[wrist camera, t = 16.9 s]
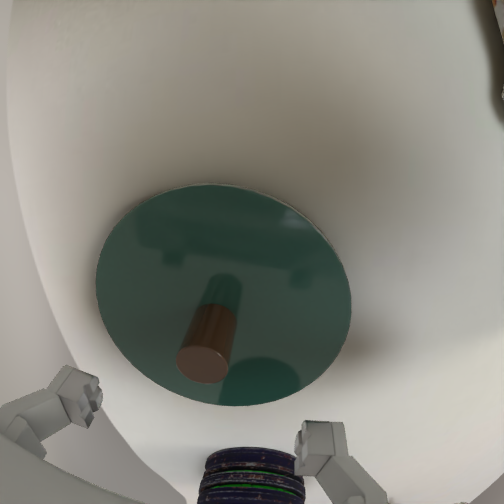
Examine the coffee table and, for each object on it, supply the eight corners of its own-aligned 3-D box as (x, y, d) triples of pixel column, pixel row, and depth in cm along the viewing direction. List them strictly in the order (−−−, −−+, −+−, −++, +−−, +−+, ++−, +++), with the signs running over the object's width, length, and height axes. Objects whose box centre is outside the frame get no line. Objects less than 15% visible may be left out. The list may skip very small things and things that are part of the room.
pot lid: (116, 367, 20) (90, 413, 16) (102, 166, 14) (46, 185, 10) (310, 405, 20) (313, 458, 16) (379, 209, 14) (417, 243, 10)
